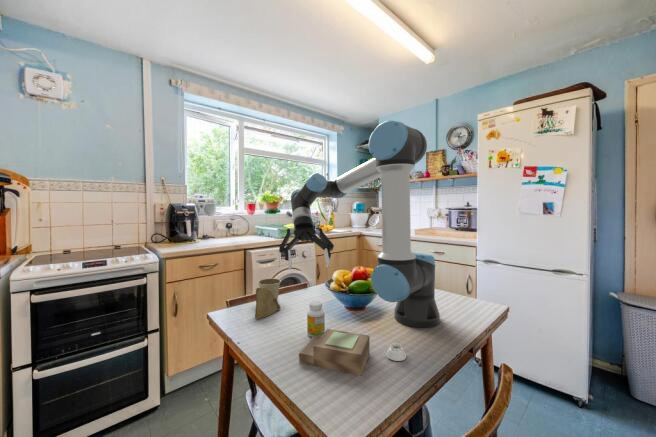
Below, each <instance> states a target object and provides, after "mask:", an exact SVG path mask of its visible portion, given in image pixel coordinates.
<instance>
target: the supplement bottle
mask: <svg viewBox="0 0 656 437" xmlns="http://www.w3.org/2000/svg"><path fill="white" fill-rule="evenodd" d="M308 307H309V309H308V310H307V312H306V313H307V314H306V320H307V326H306V327H307V328H306V329H307V330H306V331H307V336H309V337H311V338H313V336H314V335H315V336H322V335H323V334H324V332H325V331H326V329H325V328H326V326H325V320H326V319H325V310H324V308H323V302H322V301H320V300H312V301H310V302H309V304H308Z"/></svg>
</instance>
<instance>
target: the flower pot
mask: <svg viewBox="0 0 656 437" xmlns="http://www.w3.org/2000/svg"><path fill="white" fill-rule="evenodd" d="M281 282H282V279H279V278H263V279H260V280H258V281H257V284H258V286H259V287H258V288H265V289H267V290H269V291H271V293H272V294H273V296H274V297H275V298H276V299H277V301H278V299H279V298H278V297H279V292H280V286H281Z"/></svg>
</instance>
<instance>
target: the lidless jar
mask: <svg viewBox="0 0 656 437" xmlns="http://www.w3.org/2000/svg"><path fill="white" fill-rule="evenodd" d="M385 355H386V357H387V358H388V359H389V360H392V361H395V362H401V361H404V360H406V358H407V355H406V352H405V351H404V347H402V345H401V344H400V343H395V342H394V343H391V344H389V347H388V349H387V350H386V352H385Z"/></svg>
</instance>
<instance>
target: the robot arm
mask: <svg viewBox="0 0 656 437" xmlns="http://www.w3.org/2000/svg"><path fill="white" fill-rule="evenodd" d="M427 149H428V142H427V138H426V137H425V135H424V134H423V132H422V131H420V130H418V129H417V128H413V127H410V126H408V125H406V124H405V123H403V122H402V121H396V120H385V121H384V122H381V123H380V124H378V125H377V126H376V127H375V128H374V130H373V131H372V132H371V134H370V137H369V139H368V150H369V151H368V152H369V153H370V155H371V156H372V159H370V160H368V161H366V162H363V163H362V164H360V165H358V166H357V167H354V168H353V169H350V170H349V171H347V172H345V173H344V174H342V175H339V176H337V177H336V178H334V179H327V178H326V177H325V176H324V175H322V174H320V172H314V173H312V174H310V176H309V177H308V178H307V179H306V181H305V182H304V184H303V185H302V186H301V188H298V189H295V190H293V191H292V192H291V195H290V203H291V204H290V205H291V206H290V207H291V211H292V212H291V213H292V219H293V221H292V222H293V228H294V229H293V230H291V229H290V228H287V229H286V234H285V236H284V237H283V240H282V241H281V244H280V246H279V247H278V248H279V250H278V252H279V253H283V254H284V261H288V262H287V263H288V270H292V266H293V265H292V255H291V250H292V249H293V248H294V247H295V246H296V244H298V242H300V241H301V242H305V241H306V242H309V241H310V242H312V243H315V244H316V246H318V247H319V248H321V250H323V255H324V256H323V257H324V261H325V266H326V268H327V269H328V268H330V264H331V261H330V259H331V256H332V254H331V252H332V251H333V250H334V248H335V244H334V243H333V242H332V241H331V240H330V239H329V237H328V236H327V235H326V233H324V230H323V229H322V228H321V227H320V228H318V229H315V228H314V222H313V218H312V217H313V216H312V213H311V212H312V210H311V205H312V204H313V203H314V202H315V201H316V200H317V199H318V198H328V199H329V198H332V199H339V198H340V199H341V198H344V197H346V195H347V194H348V193H349V192H351V191H353V190H355V189H357V188H359V187H362V186H364V185H366V184H368V183H371V182H373V181H375V180H377V179H379V178H380V184H381V185H380V188H381V189H380V190H381V192H380V193H381V194H380V196H381V238H382V239H381V241H382V242H381V246H382V247H381V252H380V253H378V254H377V266H375V267H374V269H373V270H372V272H371V275H370V284H371V286H372V289H373V290H374V292H375V293H376V294H377V296H378V297H379V298H380V299H381V300H383V301H385V302H388V303H396V304H395V308H394V311H393V312H394V314H393V315H394V319H395V320H396V321H397V322H398V323H400V324H402V325H405V326H409V327H412V328H419V329H420V328H421V329H423V328H433V327H436V326H438V325H439V324H440V323H441V322H440V321H441V320H440V319H441V318H440V317H441V315H440V312H439V309H438V306H437V302H436V298H435V295H436V294H435V288H436V287H435V286H436V283H435V281H436V259H435V257H434V256H433V255H431V254H427V253H426V254H425V253H419V252H418V253H416V252H412V248H411V240H412V239H411V238H412V237H411V178H410V177H411V172H412V171H413V170H414V168H415V167H416V164H418V163H419V162H420V161H421V160H422V159H423V158H424V156H425V155H426V153H427ZM293 235H294V238H292V240H291V241H290V242H289V240H290V237H292V236H293ZM318 236H319V237H318ZM287 243H288V244H287Z"/></svg>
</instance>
